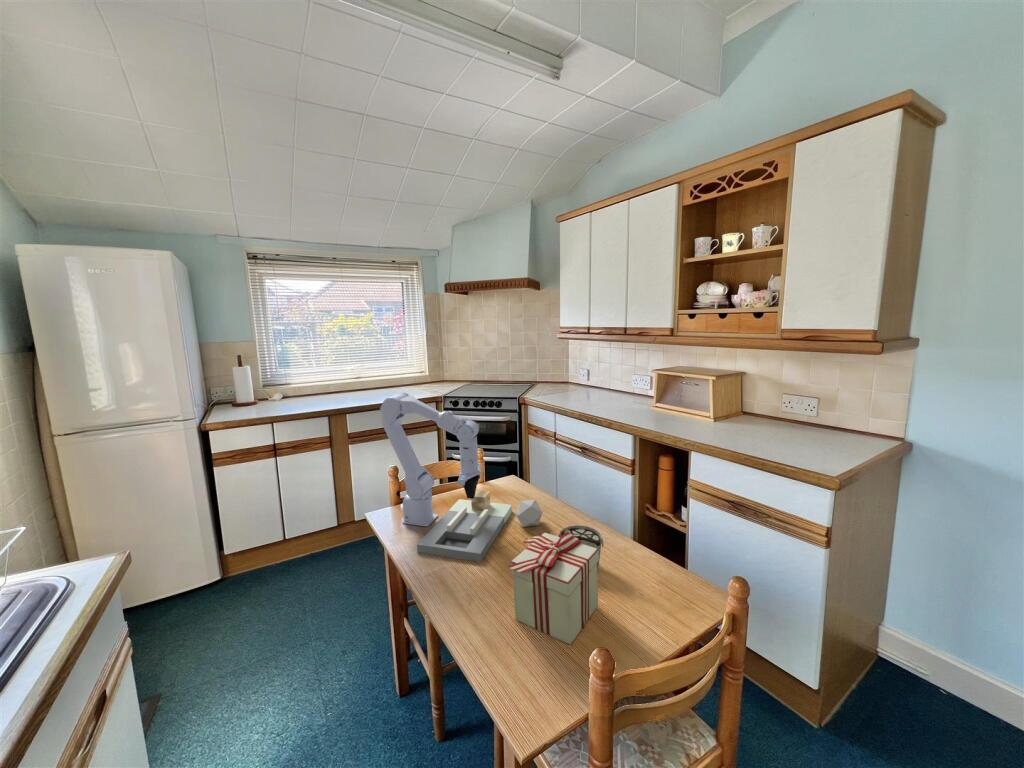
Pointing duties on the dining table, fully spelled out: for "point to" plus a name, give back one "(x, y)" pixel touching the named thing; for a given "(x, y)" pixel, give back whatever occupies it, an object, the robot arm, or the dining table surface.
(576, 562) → the gift box
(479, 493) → the maple block
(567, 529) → the dark grey curved piece
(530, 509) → the die
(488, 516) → the trap deck
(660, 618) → the dining table surface
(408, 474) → the robot arm
